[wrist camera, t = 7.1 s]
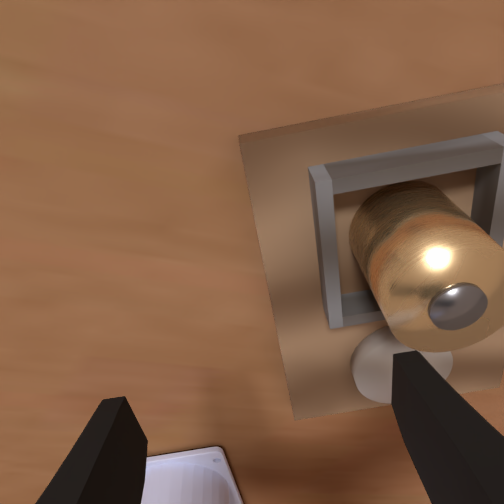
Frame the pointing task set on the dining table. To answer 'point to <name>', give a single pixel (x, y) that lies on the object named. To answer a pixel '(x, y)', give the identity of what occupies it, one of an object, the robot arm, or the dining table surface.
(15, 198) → the dining table surface
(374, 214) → the gold knobbed cylinder
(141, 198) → the dining table surface
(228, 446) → the dining table surface
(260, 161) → the carrier board
